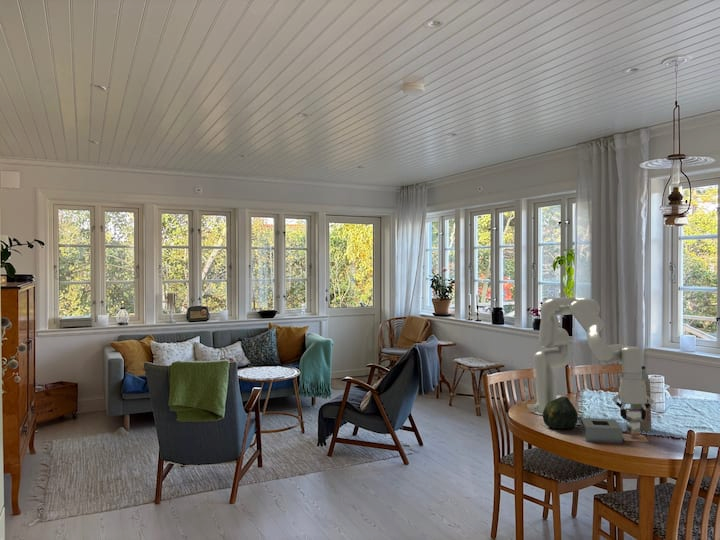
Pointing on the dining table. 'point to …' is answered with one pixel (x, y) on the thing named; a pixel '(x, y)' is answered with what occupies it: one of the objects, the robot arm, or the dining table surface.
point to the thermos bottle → (646, 423)
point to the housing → (601, 430)
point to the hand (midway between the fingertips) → (633, 418)
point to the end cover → (633, 421)
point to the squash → (560, 414)
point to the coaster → (634, 438)
